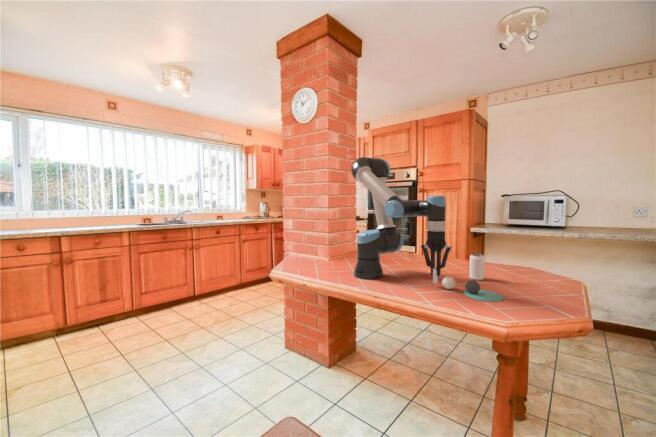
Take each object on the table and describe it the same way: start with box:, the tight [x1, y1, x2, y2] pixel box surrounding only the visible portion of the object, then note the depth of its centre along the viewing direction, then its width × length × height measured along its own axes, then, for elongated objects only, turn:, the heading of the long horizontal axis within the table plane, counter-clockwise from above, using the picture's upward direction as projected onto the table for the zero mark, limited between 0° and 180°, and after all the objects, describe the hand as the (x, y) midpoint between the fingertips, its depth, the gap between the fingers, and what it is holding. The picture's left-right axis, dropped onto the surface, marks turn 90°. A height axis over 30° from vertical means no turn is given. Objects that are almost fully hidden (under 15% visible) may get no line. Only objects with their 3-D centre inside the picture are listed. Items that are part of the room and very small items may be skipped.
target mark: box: [463, 289, 504, 303], centre depth 111 cm, size 14×14×1 cm
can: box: [469, 253, 486, 281], centre depth 134 cm, size 6×6×12 cm
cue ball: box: [441, 275, 456, 290], centre depth 119 cm, size 6×6×6 cm
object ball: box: [464, 279, 481, 294], centre depth 113 cm, size 6×6×6 cm
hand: (435, 282), depth 122 cm, fingers closed
